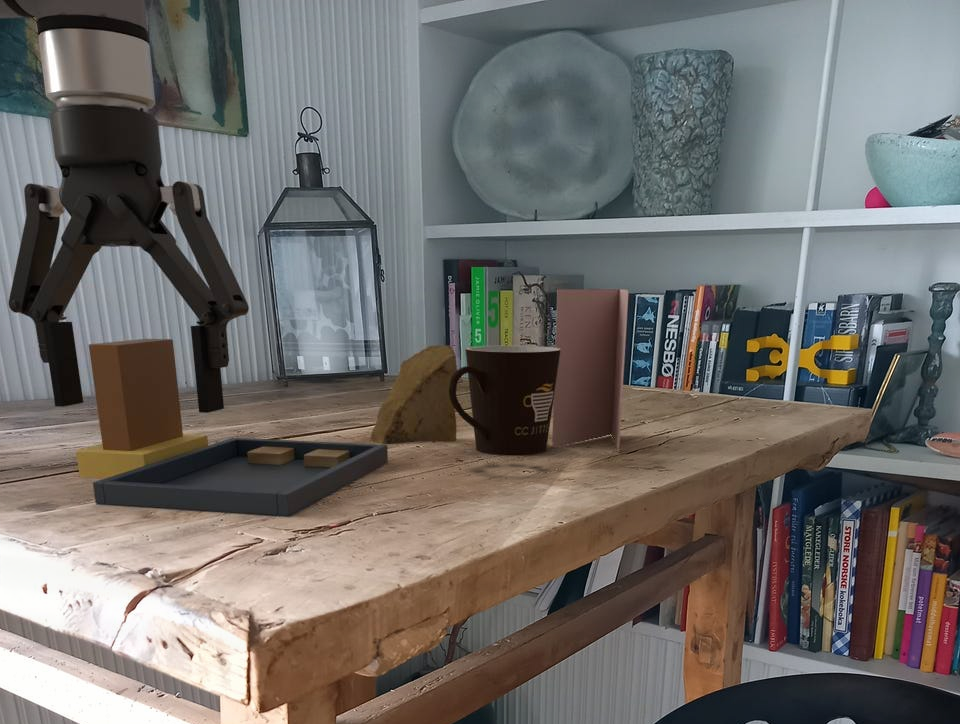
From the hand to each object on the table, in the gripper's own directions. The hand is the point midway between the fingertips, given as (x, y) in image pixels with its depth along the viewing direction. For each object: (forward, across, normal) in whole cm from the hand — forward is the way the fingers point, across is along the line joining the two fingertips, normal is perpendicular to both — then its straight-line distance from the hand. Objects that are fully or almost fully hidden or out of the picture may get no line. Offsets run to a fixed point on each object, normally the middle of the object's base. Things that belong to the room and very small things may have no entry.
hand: (139, 408), depth 76 cm
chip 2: (+5, -14, -5) cm, 16 cm away
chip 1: (+5, -9, -5) cm, 11 cm away
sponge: (+6, 0, 0) cm, 6 cm away
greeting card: (+6, -36, -28) cm, 46 cm away
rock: (+6, -16, -22) cm, 28 cm away
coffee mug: (+6, -26, -16) cm, 32 cm away
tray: (+6, -12, +3) cm, 13 cm away
